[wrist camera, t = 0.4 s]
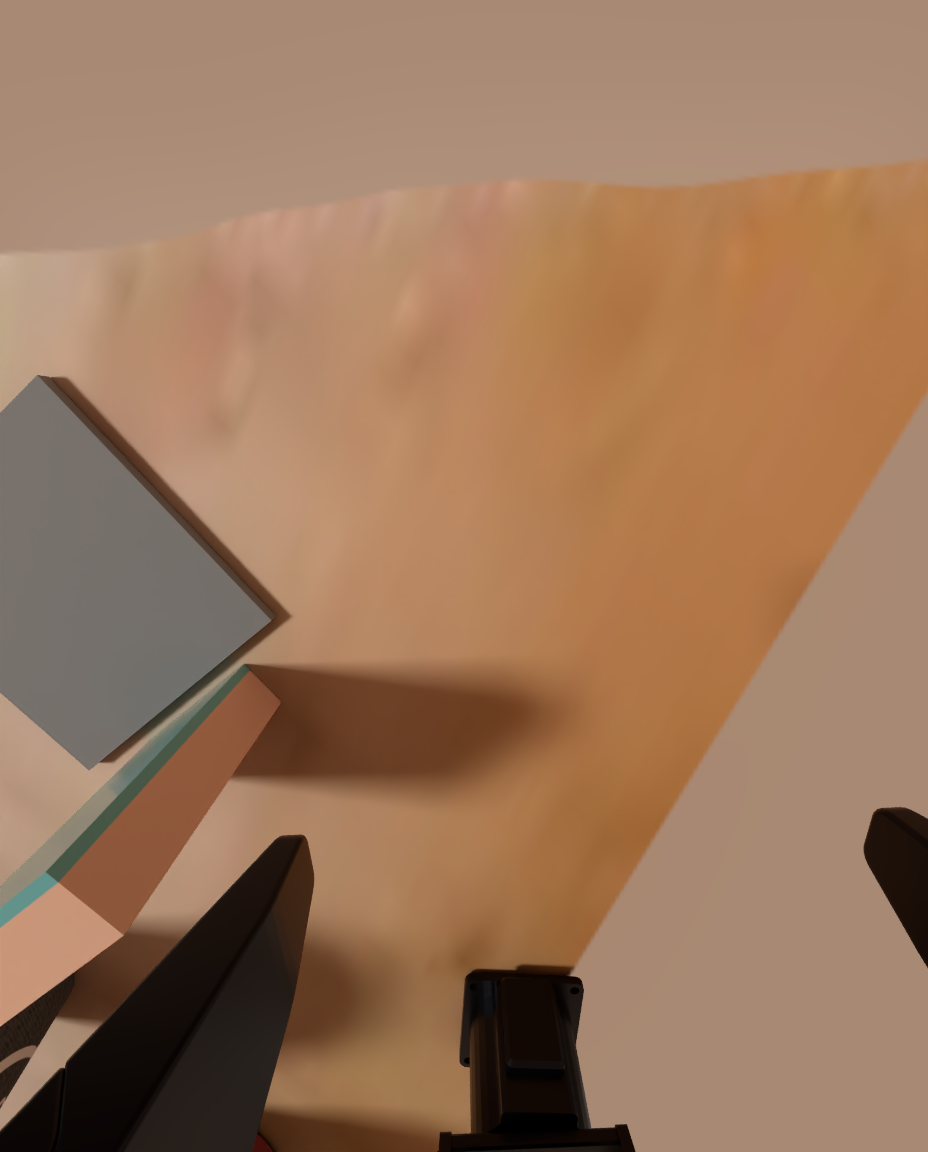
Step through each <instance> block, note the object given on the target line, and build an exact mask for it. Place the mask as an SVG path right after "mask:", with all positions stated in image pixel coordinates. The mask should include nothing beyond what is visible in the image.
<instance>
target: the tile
mask: <svg viewBox="0 0 928 1152" xmlns="http://www.w3.org/2000/svg"><path fill="white" fill-rule="evenodd" d="M280 704H281V701H280V700H279V699H278V698H277V697H276V696H275V695H274V694H273V693H272V692H271V691H270V690H269V689H268V688H267V687H266V686H265V685H264V684H263V683H262V682H261V681H260V680H259V679H258V678H257V677H256V676H255V675H254V674H253V673H252V672H251V671H250V670H249V669H248V668H247V667H246V666H245V665H244V664H243V665H242V666H241V667H240V668H238V669H237V670H236V671H235V672H233V673H232V674H231V675H230V676H228V677H227V678H226V679H225V680H224V681H222V682H221V683H220V684H219V685H217V686H216V687H215V688H214V689H212V690H211V691H210V692H209V693H208V694H206V695H205V696H204V697H203V698H201V699H200V700H199V701H198V702H196V703H195V704H194V705H193V706H192V707H190V708H189V709H188V710H187V711H185V712H184V713H183V714H182V715H180V716H179V717H178V718H177V719H176V720H174V721H173V722H172V723H171V724H169V725H168V726H167V727H166V728H164V729H163V730H162V731H161V732H160V733H158V734H157V735H156V736H155V737H153V738H152V739H151V740H150V741H149V742H148V743H146V744H145V745H144V746H143V747H142V748H141V749H140V750H139V751H138V752H137V753H136V754H135V755H134V756H133V757H132V758H131V759H130V760H129V761H128V762H127V763H126V764H125V765H124V766H123V767H122V768H121V769H120V770H119V771H118V772H117V773H116V774H115V775H114V776H113V777H112V778H111V779H110V780H109V781H108V782H107V783H106V784H105V785H104V786H102V787H101V788H100V789H99V790H98V791H97V792H96V793H95V794H94V795H93V796H92V797H91V798H90V799H89V800H88V801H87V802H86V803H85V804H84V805H83V806H82V807H81V808H80V809H79V810H78V811H77V812H76V813H75V814H74V815H73V816H72V817H71V818H70V819H69V820H68V821H67V822H66V823H65V824H64V825H63V826H62V827H61V828H59V829H58V830H57V831H56V832H55V833H54V834H53V835H52V836H51V837H50V838H49V839H48V840H47V841H46V842H45V843H44V844H43V845H42V846H41V847H40V848H39V849H38V850H37V851H36V852H35V853H34V854H33V855H32V856H31V857H30V858H29V859H28V860H27V861H26V862H25V863H24V864H23V865H22V866H21V867H20V868H19V869H18V870H16V871H15V872H14V873H13V874H12V875H11V876H10V877H9V878H8V879H7V880H6V881H5V882H4V883H3V884H2V885H1V886H0V1026H2V1025H3V1024H4V1023H6V1022H7V1021H8V1020H10V1019H11V1018H12V1017H14V1016H15V1015H17V1014H18V1013H19V1012H21V1011H22V1010H23V1009H25V1008H26V1007H27V1006H29V1005H30V1004H31V1003H33V1002H34V1001H36V1000H37V999H38V998H40V997H41V996H42V995H44V994H45V993H46V992H48V991H49V990H50V989H52V988H53V987H55V986H56V985H57V984H59V983H60V982H61V981H63V980H64V979H65V978H67V977H68V976H69V975H71V974H72V973H74V972H75V971H76V970H78V969H79V968H80V967H82V966H83V965H84V964H86V963H87V962H89V961H90V960H91V959H93V958H94V957H95V956H97V955H98V954H99V953H101V952H102V951H103V950H105V949H106V948H108V947H109V946H110V945H112V944H113V943H114V942H116V941H117V940H118V939H120V938H121V937H122V936H124V935H125V933H126V932H127V930H128V929H129V927H130V926H131V924H132V923H133V921H134V920H135V918H136V917H137V915H138V914H139V912H140V911H141V909H142V908H143V906H144V905H145V903H146V902H147V900H148V899H149V898H150V896H151V895H152V893H153V892H154V890H155V889H156V887H157V886H158V884H159V883H160V881H161V880H162V878H163V877H164V875H165V874H166V872H167V871H168V869H169V868H170V866H171V865H172V863H173V862H174V861H175V859H176V858H177V856H178V855H179V853H180V852H181V850H182V849H183V847H184V846H185V844H186V843H187V841H188V840H189V838H190V837H191V835H192V834H193V832H194V831H195V829H196V828H197V826H198V825H199V823H200V822H201V821H202V819H203V818H204V816H205V815H206V813H207V812H208V810H209V809H210V807H211V806H212V804H213V803H214V801H215V800H216V798H217V797H218V795H219V794H220V792H221V791H222V789H223V788H224V786H225V785H226V783H227V782H228V781H229V779H230V778H231V776H232V775H233V773H234V772H235V770H236V769H237V767H238V766H239V764H240V763H241V761H242V760H243V758H244V757H245V755H246V754H247V752H248V751H249V749H250V748H251V746H252V745H253V744H254V742H255V741H256V739H257V738H258V736H259V735H260V733H261V732H262V730H263V729H264V727H265V726H266V724H267V723H268V721H269V720H270V718H271V717H272V715H273V714H274V712H275V711H276V709H277V708H278V706H279V705H280Z"/></svg>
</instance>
